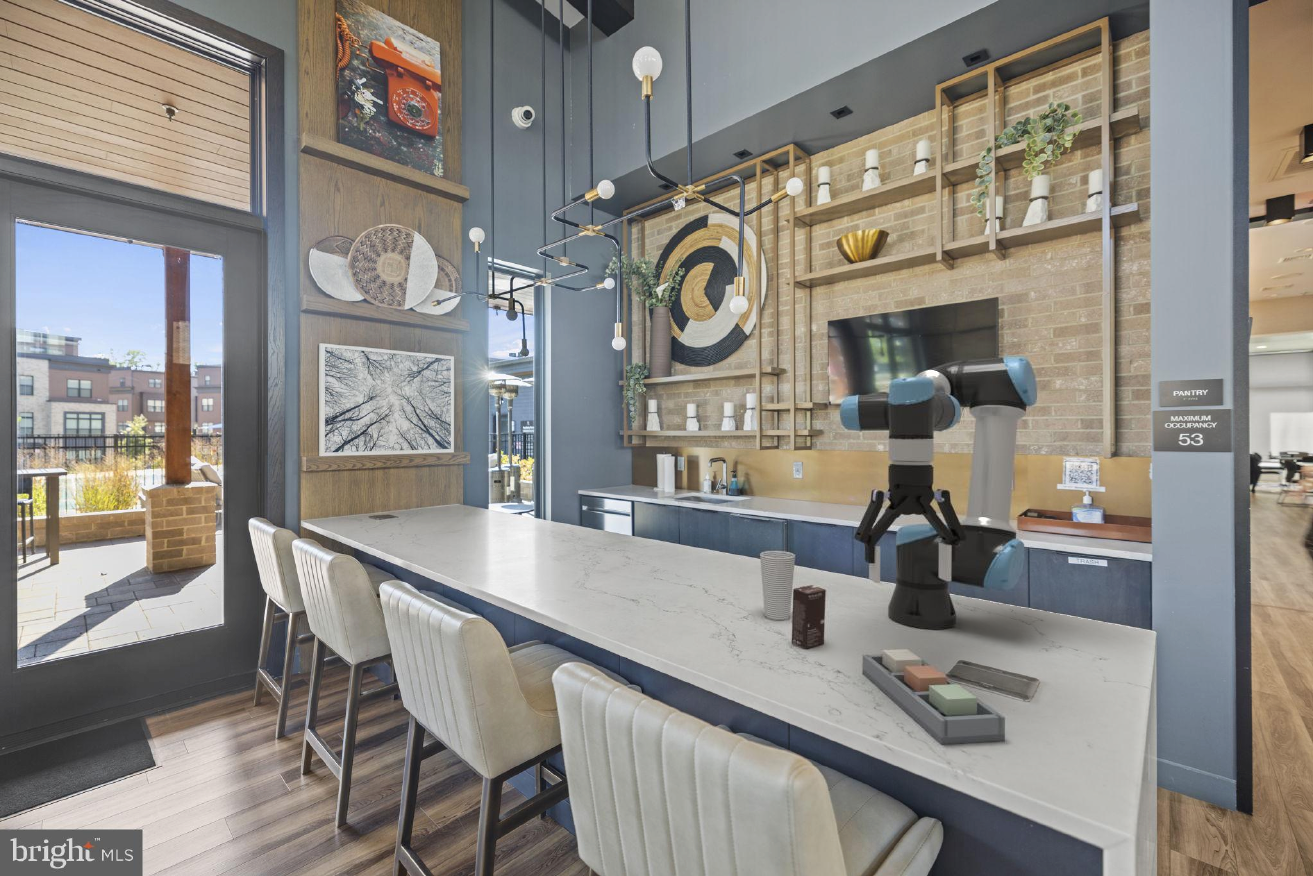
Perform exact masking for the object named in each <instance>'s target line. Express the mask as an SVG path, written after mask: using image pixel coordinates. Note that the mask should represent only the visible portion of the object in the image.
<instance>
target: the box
mask: <svg viewBox="0 0 1313 876" xmlns="http://www.w3.org/2000/svg"><path fill="white" fill-rule="evenodd" d="M826 592H827V590H826V589H825V588H822V587H819V586H817V585H816V586H815V585H813V584H811V585H806V586H800V587H795V588H792V621H791V622H792V623H791V644H792V645H794V646H796V647H798V648H802V649H805V650H806V649H810V648H813V647H817V646H820V645H824V644H825V623H826V622H825V620H826V618H825V617H826V616H825V615H826V598H827V597H826V594H827V593H826Z"/></svg>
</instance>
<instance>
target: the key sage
mask: <svg viewBox="0 0 1313 876" xmlns="http://www.w3.org/2000/svg"><path fill="white" fill-rule="evenodd" d="M969 692H970V691H968V690H967V689H965V688H964V687H962V686H961V685H959V684H958V683H957V684H950V685H929V702H931V703H932V704H933V705H934V706H936V707H937V708H938V709H939V710H941V711H942V712H943V713H944V714H946V715H947V716H953V715H972V714H977V698H978V697H976V696H975V695H974V694H972V693H971V692H970V693H969Z"/></svg>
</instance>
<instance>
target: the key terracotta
mask: <svg viewBox="0 0 1313 876" xmlns="http://www.w3.org/2000/svg"><path fill="white" fill-rule="evenodd" d="M947 677H948V676H947V675H945V674H944V673H942V672H940V671H939V670H938V669H936V668H935V667H934V668H933V666H932V665H931V664H929V665H928V666H904V681H905V682H906V683H907V684H908V685H910V686H911V687H912V688H913V689H915V690H916V691H917V692H924V691H929V685H947Z"/></svg>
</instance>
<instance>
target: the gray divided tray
mask: <svg viewBox="0 0 1313 876" xmlns="http://www.w3.org/2000/svg"><path fill="white" fill-rule="evenodd" d="M882 663H883V653H882V654H879V653H878V654H862V674H863V675H864V676H865V677H866V678H867V679H868V680H869V681H871V682H872V684H874V685H875V686H876V687H877V688H878V690H880V691H881V692H882V693H884V694H885V696H887V697H888V698H889V699H890V700H891V701H892V702H893V703H895V704H896V705H897V706H898V707H899V708H900V709H901V710H902V711H903V712H905V714H907V715H908V716H909V717H910V718H911V719H912V720H913V721H915V723H917V724H918V725H919V726H920V727H921V728H923V730H925V731H926V732H927V733H928V734H929V735H930V736H931V737H932V738H933V739H934V740H936V741H937V742H938V743H939V744H940V745H951V744H953V745H954V744H955V745H956V744H968V743H969V744H973V743H987V742H989V743H990V742H1005V741H1006V731H1005V730H1006V728H1005V727H1006V717H1005V716H1004V715H1003V714H1002V713H1000V712H999V711H997V710H995V709H994V708H992V707H991V706H990V705H988V704H987V703H986V702H984V701H983V700H981V699H980V698H978V697H977V714H972V715H953V716H947V715H946V714H944V713H943V712H942V711H941V710H939V709H938V708H937V707H936V706H934V705H933V704H932V703H931V702H929V691H924V692H917V691H916V690H915V689H913V688H912V687H911V686H910V685H908V684H907V683H906V682H905V681H904V672H898V673H893V672H892V671H891V670H890V669H889V668H887V667H886V666H885V665H884V664H882ZM928 665H930V664H929V663H928V662H926V661H925V660H923V659H922V666H928ZM932 667H933V666H932ZM933 668H935V667H933ZM946 677H947V685H950V684H958V683H957V682H955V681H954V680H952V679H951V678H950V677H948V676H946ZM968 692H969V693H971V692H970V691H968Z"/></svg>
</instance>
